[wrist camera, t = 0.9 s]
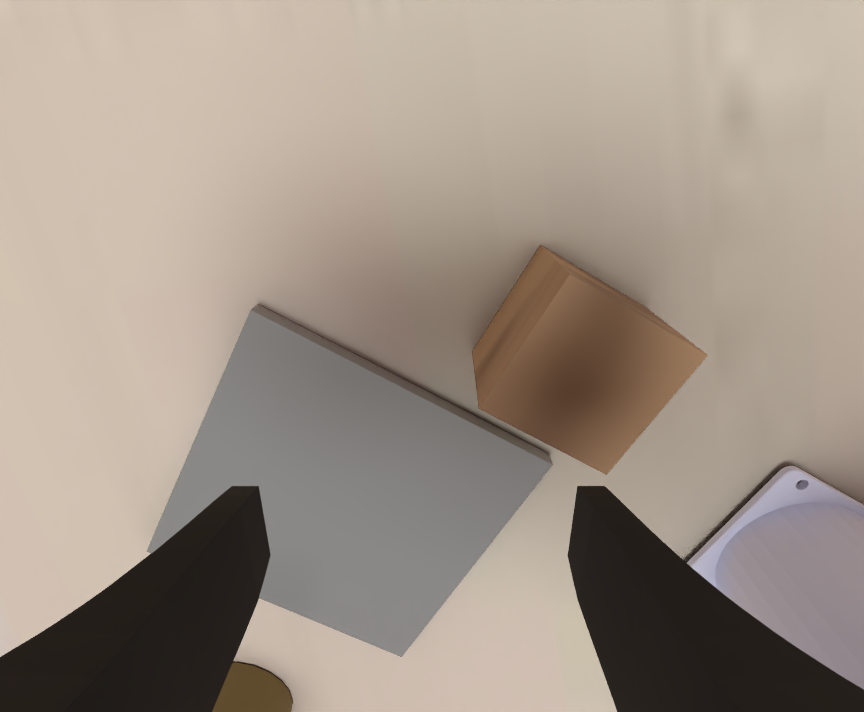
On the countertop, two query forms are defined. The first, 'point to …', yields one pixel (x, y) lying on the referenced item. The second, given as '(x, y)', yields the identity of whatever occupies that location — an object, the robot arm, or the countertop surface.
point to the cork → (252, 691)
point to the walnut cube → (578, 362)
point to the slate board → (352, 481)
